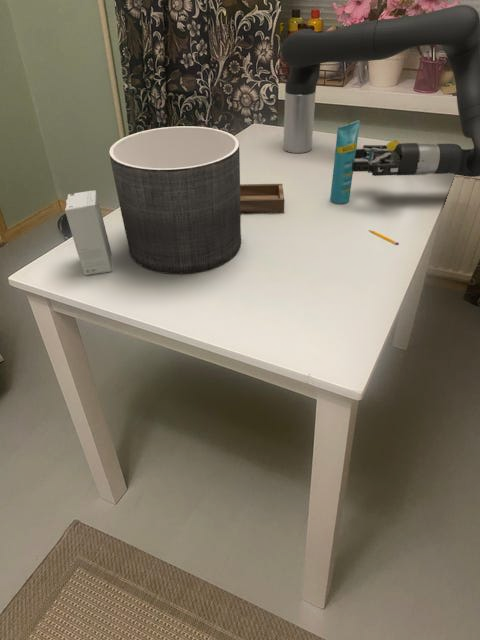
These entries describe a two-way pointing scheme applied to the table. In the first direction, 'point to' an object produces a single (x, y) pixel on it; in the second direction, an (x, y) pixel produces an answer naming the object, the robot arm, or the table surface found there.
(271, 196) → the tray
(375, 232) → the pencil
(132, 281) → the table surface
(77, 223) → the skincare box
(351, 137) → the tube
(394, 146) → the lemon
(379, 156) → the robot arm
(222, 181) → the planter
